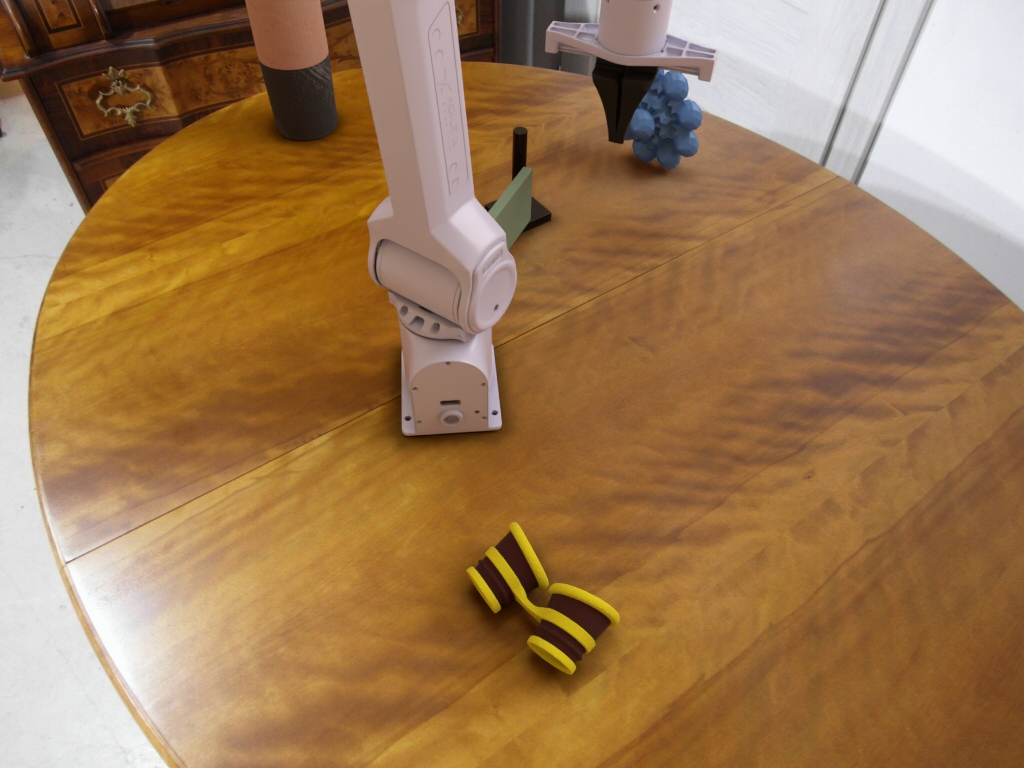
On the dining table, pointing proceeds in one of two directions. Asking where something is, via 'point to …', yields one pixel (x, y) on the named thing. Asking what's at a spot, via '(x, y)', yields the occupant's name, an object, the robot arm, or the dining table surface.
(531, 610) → the opera glasses
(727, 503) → the dining table surface
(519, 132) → the hinge post
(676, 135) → the grapes
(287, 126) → the travel mug
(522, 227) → the gate door
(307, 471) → the dining table surface
